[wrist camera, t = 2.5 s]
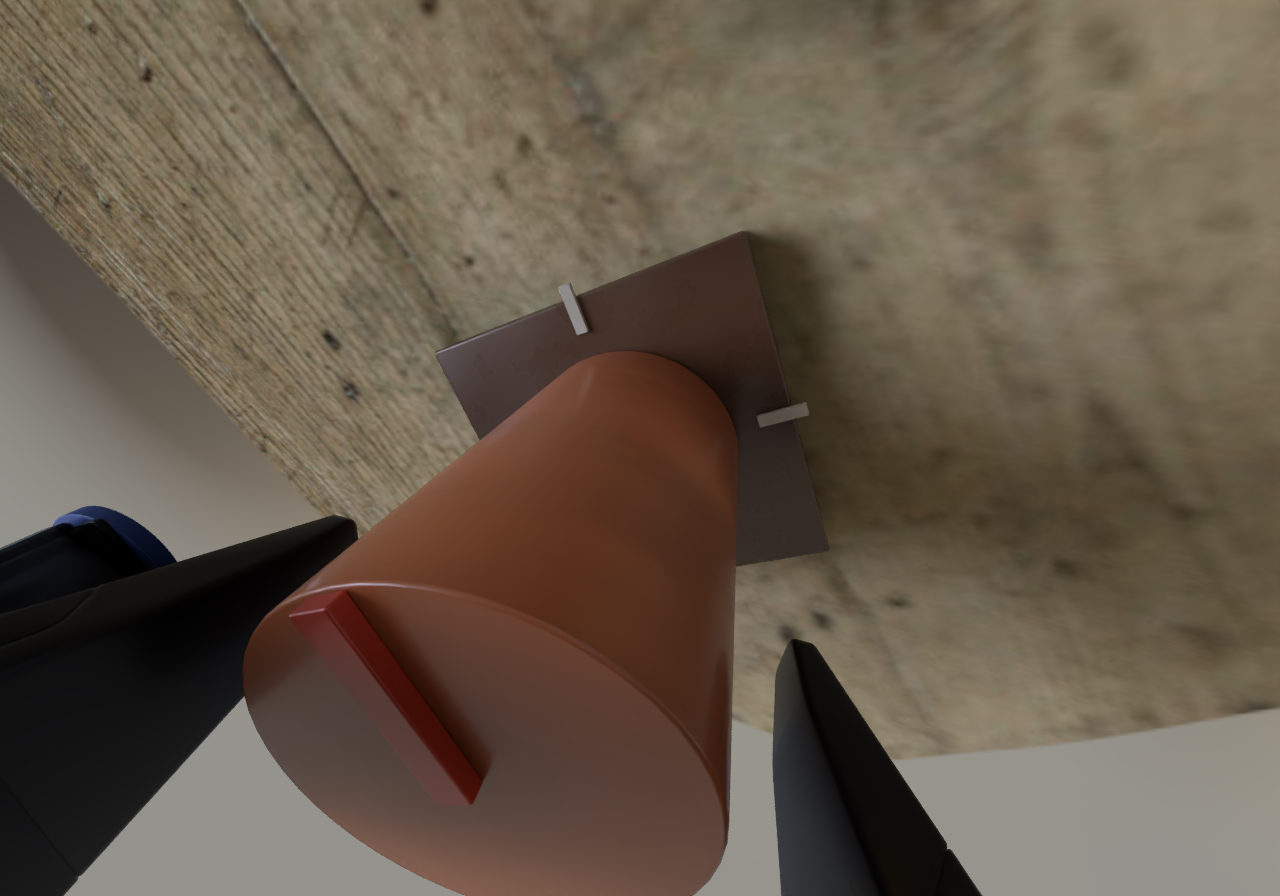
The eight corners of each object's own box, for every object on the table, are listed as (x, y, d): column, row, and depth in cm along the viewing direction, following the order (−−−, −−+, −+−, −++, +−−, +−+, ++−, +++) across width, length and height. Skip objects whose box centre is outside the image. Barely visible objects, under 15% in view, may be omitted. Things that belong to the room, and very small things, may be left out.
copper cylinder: (763, 519, 15) (792, 973, 6) (581, 554, 17) (395, 930, 8) (700, 319, 13) (591, 550, 4) (500, 387, 15) (115, 643, 6)
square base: (835, 524, 17) (846, 563, 15) (572, 572, 20) (554, 608, 18) (755, 209, 13) (757, 206, 11) (451, 331, 17) (413, 345, 15)
